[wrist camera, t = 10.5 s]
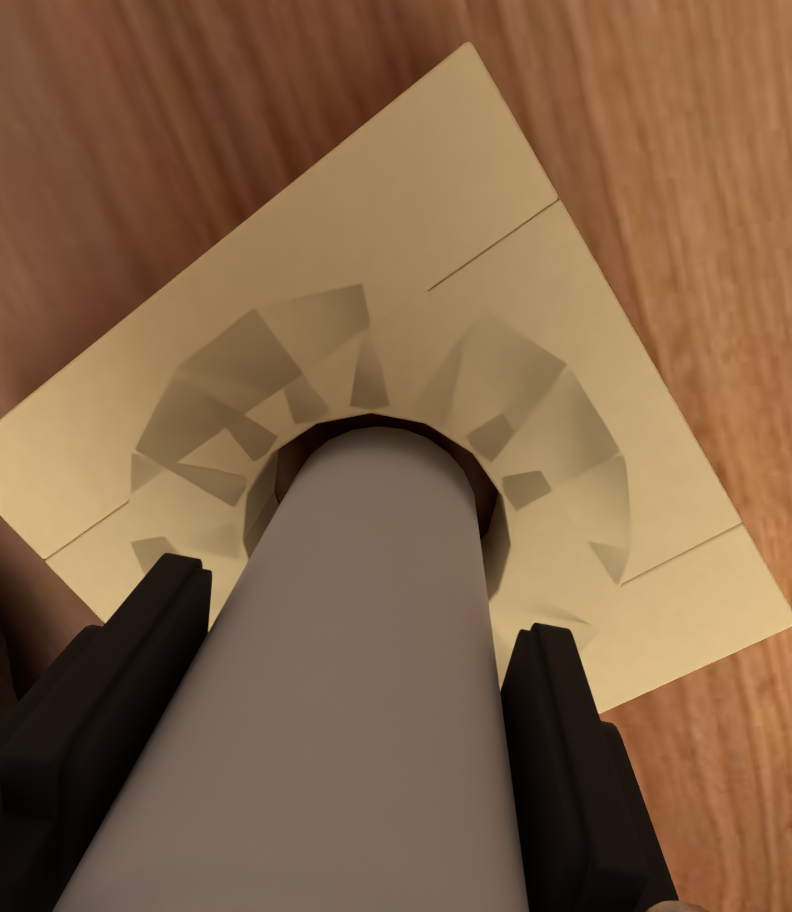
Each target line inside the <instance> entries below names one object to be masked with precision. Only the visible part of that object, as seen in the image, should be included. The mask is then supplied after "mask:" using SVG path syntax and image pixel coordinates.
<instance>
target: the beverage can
mask: <svg viewBox="0 0 792 912" xmlns="http://www.w3.org/2000/svg"><path fill="white" fill-rule="evenodd" d="M52 912H529V907H528V899H527V891H526V884H525V876H524V869H523V861H522V854H521V846H520V838H519V831H518V823H517V816H516V808H515V800H514V793H513V785H512V778H511V770H510V762H509V755H508V747H507V740H506V732H505V724H504V717H503V709H502V702H501V694H500V686H499V679H498V671H497V664H496V656H495V648H494V641H493V633H492V626H491V618H490V611H489V603H488V595H487V588H486V580H485V573H484V565H483V557H482V550H481V542H480V535H479V527H478V519H477V512H476V505H475V497H474V492H473V490H472V488H471V485H470V483H469V481H468V479H467V477H466V474H465V472H464V471H463V470H462V468H461V467H460V466H459V465H458V464H457V462H456V461H455V460H454V459H453V458H452V456H451V455H450V454H449V453H448V452H447V451H445V450H444V449H442V448H441V447H439V446H438V445H437V444H435V443H434V442H432V441H431V440H429V439H428V438H426V437H423V436H421V435H418V434H415V433H413V432H410V431H407V430H405V429H398V428H389V427H379V426H377V427H370V428H363V429H356V430H351V431H349V432H346V433H344V434H342V435H339V436H337V437H335V438H332V439H330V440H328V441H327V442H326V443H325V444H323V445H322V446H321V447H320V448H318V449H317V450H316V451H315V452H313V453H312V454H311V455H310V456H309V458H308V459H307V460H306V462H305V463H304V465H303V466H302V468H301V469H300V470H299V472H298V473H297V475H296V477H295V478H294V480H293V482H292V484H291V486H290V487H289V489H288V491H287V493H286V495H285V496H284V498H283V500H282V502H281V504H280V505H279V507H278V509H277V511H276V512H275V514H274V516H273V518H272V520H271V521H270V523H269V525H268V527H267V529H266V530H265V532H264V534H263V536H262V537H261V539H260V541H259V543H258V545H257V546H256V548H255V550H254V552H253V554H252V555H251V557H250V559H249V561H248V562H247V564H246V566H245V568H244V570H243V571H242V573H241V575H240V577H239V579H238V580H237V582H236V584H235V586H234V587H233V589H232V591H231V593H230V595H229V596H228V598H227V600H226V602H225V604H224V605H223V607H222V609H221V611H220V613H219V614H218V616H217V618H216V620H215V621H214V623H213V625H212V627H211V629H210V630H209V632H208V634H207V636H206V638H205V639H204V641H203V643H202V645H201V646H200V648H199V650H198V652H197V654H196V655H195V657H194V659H193V661H192V663H191V664H190V666H189V668H188V670H187V671H186V673H185V675H184V677H183V679H182V680H181V682H180V684H179V686H178V688H177V689H176V691H175V693H174V695H173V696H172V698H171V700H170V702H169V704H168V705H167V707H166V709H165V711H164V713H163V714H162V716H161V718H160V720H159V722H158V723H157V725H156V727H155V729H154V730H153V732H152V734H151V736H150V738H149V739H148V741H147V743H146V745H145V747H144V748H143V750H142V752H141V754H140V755H139V757H138V759H137V761H136V763H135V764H134V766H133V768H132V770H131V772H130V773H129V775H128V777H127V779H126V780H125V782H124V784H123V786H122V788H121V789H120V791H119V793H118V795H117V797H116V798H115V800H114V802H113V804H112V805H111V807H110V809H109V811H108V813H107V814H106V816H105V818H104V820H103V822H102V823H101V825H100V827H99V829H98V830H97V832H96V834H95V836H94V838H93V839H92V841H91V843H90V845H89V847H88V848H87V850H86V852H85V854H84V856H83V857H82V859H81V861H80V863H79V864H78V866H77V868H76V870H75V872H74V873H73V875H72V877H71V879H70V881H69V882H68V884H67V886H66V888H65V889H64V891H63V893H62V895H61V897H60V898H59V900H58V902H57V904H56V906H55V907H54V909H53V911H52Z"/></svg>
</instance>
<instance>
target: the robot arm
mask: <svg viewBox="0 0 792 912" xmlns="http://www.w3.org/2000/svg"><path fill="white" fill-rule="evenodd" d="M211 589H212V571H211V570H207V569H203V565H202V561H201V559H198V558H193V557H188V556H182V555H177V554H172V553H164V554H163V555H162V556H161V557H160V558H159V560H158V561H157V562H156V563H155V564H154V566H153V567H152V568H151V569H150V570H149V572H148V573H147V574H146V575H145V576H144V578H143V579H142V580H141V581H140V582H139V584H138V585H137V586H136V587H135V589H134V590H133V591H132V592H131V593H130V595H129V596H128V597H127V598H126V599H125V601H124V602H123V603H122V604H121V605H120V607H119V608H118V609H117V610H116V611H115V613H114V614H113V615H112V616H111V617H110V619H109V620H108V621H107V622H106V624H105V625H104V626H103V627H101V626H95V625H90V626H87V627H85V628H84V629H83V630H82V631H81V632H80V633H79V634H78V635H77V636H76V637H75V638H74V639H73V640H72V641H71V643H70V644H69V645H68V646H67V647H66V648H65V649H64V651H63V652H62V653H61V654H60V655H59V656H58V657H57V659H56V660H55V661H54V662H53V663H52V664H51V665H50V667H49V668H48V669H47V670H46V671H45V672H44V673H43V675H42V676H41V677H40V678H39V679H38V680H37V681H36V683H35V684H34V685H33V686H32V687H31V688H30V689H29V691H28V692H27V693H26V694H25V695H24V696H23V697H22V699H21V700H20V701H19V702H18V703H17V704H16V705H15V707H14V708H13V709H12V710H11V711H10V712H9V713H8V715H7V716H6V717H5V718H4V719H3V720H2V722H1V723H0V912H52V911H53V909H54V907H55V906H56V904H57V902H58V900H59V898H60V897H61V895H62V893H63V891H64V889H65V888H66V886H67V884H68V882H69V881H70V879H71V877H72V875H73V873H74V872H75V870H76V868H77V866H78V864H79V863H80V861H81V859H82V857H83V856H84V854H85V852H86V850H87V848H88V847H89V845H90V843H91V841H92V839H93V838H94V836H95V834H96V832H97V830H98V829H99V827H100V825H101V823H102V822H103V820H104V818H105V816H106V814H107V813H108V811H109V809H110V807H111V805H112V804H113V802H114V800H115V798H116V797H117V795H118V793H119V791H120V789H121V788H122V786H123V784H124V782H125V780H126V779H127V777H128V775H129V773H130V772H131V770H132V768H133V766H134V764H135V763H136V761H137V759H138V757H139V755H140V754H141V752H142V750H143V748H144V747H145V745H146V743H147V741H148V739H149V738H150V736H151V734H152V732H153V730H154V729H155V727H156V725H157V723H158V722H159V720H160V718H161V716H162V714H163V713H164V711H165V709H166V707H167V705H168V704H169V702H170V700H171V698H172V696H173V695H174V693H175V691H176V689H177V688H178V686H179V684H180V682H181V680H182V679H183V677H184V675H185V673H186V671H187V670H188V668H189V666H190V664H191V663H192V661H193V659H194V657H195V655H196V654H197V652H198V650H199V648H200V646H201V645H202V643H203V641H204V639H205V638H206V636H207V634H208V627H209V614H210V602H211ZM500 694H501V702H502V709H503V717H504V724H505V732H506V740H507V747H508V755H509V762H510V770H511V778H512V785H513V793H514V800H515V808H516V816H517V823H518V831H519V838H520V846H521V854H522V861H523V869H524V876H525V884H526V891H527V899H528V907H529V912H709V911H707V910H706V909H704V908H702V907H700V906H697V905H693V904H690V903H687V902H683V901H679V899H678V896H677V893H676V890H675V887H674V885H673V882H672V879H671V876H670V873H669V870H668V868H667V865H666V862H665V859H664V856H663V853H662V851H661V848H660V845H659V842H658V839H657V837H656V834H655V831H654V828H653V825H652V822H651V820H650V817H649V814H648V811H647V808H646V805H645V803H644V800H643V797H642V794H641V791H640V788H639V786H638V783H637V780H636V777H635V774H634V772H633V769H632V766H631V763H630V760H629V757H628V755H627V752H626V749H625V746H624V743H623V740H622V738H621V735H620V733H619V731H618V729H617V727H616V726H615V725H613V724H612V723H609V722H604V721H601V720H600V717H599V714H598V711H597V708H596V705H595V702H594V699H593V696H592V693H591V689H590V686H589V683H588V680H587V677H586V674H585V671H584V668H583V665H582V662H581V659H580V655H579V652H578V649H577V646H576V643H575V640H574V637H573V634H572V632H571V630H570V629H568V628H563V627H558V626H552V625H547V624H542V623H534V624H533V625H532V627H531V629H530V630H525V629H521V630H520V631H519V633H518V635H517V638H516V641H515V645H514V648H513V651H512V655H511V658H510V661H509V664H508V668H507V671H506V674H505V678H504V681H503V684H502V687H501V691H500Z"/></svg>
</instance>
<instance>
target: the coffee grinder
mask: <svg viewBox="0 0 792 912" xmlns="http://www.w3.org/2000/svg"><path fill="white" fill-rule="evenodd" d="M17 703H18V699H17V696H16V693H15V691H14V688H13V682H12V675H11V669H10V663H9V657H8V652H7V646H6V641H5V637H4V634H3V631H2V628H1V623H0V723H1V722H2V720H3V719H4V718H5V717H6V716H7V715H8V713H9V712H10V711H11V710H12V709H13V708H14V707H15V705H16V704H17Z"/></svg>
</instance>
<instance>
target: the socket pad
mask: <svg viewBox="0 0 792 912" xmlns="http://www.w3.org/2000/svg"><path fill="white" fill-rule="evenodd" d="M557 198H558V196H557V193H556V191H555V189H554V187H553V186H552V184H551V182H550V180H549V178H548V177H547V175H546V173H545V171H544V170H543V168H542V166H541V164H540V163H539V161H538V159H537V157H536V155H535V154H534V152H533V150H532V148H531V147H530V145H529V143H528V141H527V140H526V138H525V136H524V134H523V132H522V131H521V129H520V127H519V125H518V124H517V122H516V120H515V118H514V117H513V115H512V113H511V111H510V109H509V108H508V106H507V104H506V102H505V101H504V99H503V97H502V95H501V94H500V92H499V90H498V88H497V86H496V85H495V83H494V81H493V79H492V78H491V76H490V74H489V72H488V71H487V69H486V67H485V65H484V63H483V62H482V60H481V58H480V56H479V55H478V53H477V51H476V49H475V48H474V46H473V44H472V43H470V42H466V43H464V44H463V45H461V46H460V47H459V48H458V49H456V50H455V51H454V52H453V53H452V54H450V55H449V56H448V57H447V58H445V59H444V60H443V61H442V62H440V63H439V64H438V65H437V66H435V67H434V68H433V69H432V70H431V71H429V72H428V73H427V74H426V75H424V76H423V77H422V78H421V79H419V80H418V81H417V82H416V83H414V84H413V85H412V86H411V87H410V88H408V89H407V90H406V91H405V92H403V93H402V94H401V95H400V96H398V97H397V98H396V99H395V100H393V101H392V102H391V103H390V104H389V105H387V106H386V107H385V108H384V109H382V110H381V111H380V112H379V113H377V114H376V115H375V116H374V117H372V118H371V119H370V120H369V121H368V122H366V123H365V124H364V125H363V126H361V127H360V128H359V129H358V130H356V131H355V132H354V133H353V134H351V135H350V136H349V137H348V138H347V139H345V140H344V141H343V142H342V143H340V144H339V145H338V146H337V147H335V148H334V149H333V150H332V151H330V152H329V153H328V154H327V155H326V156H324V157H323V158H322V159H321V160H319V161H318V162H317V163H316V164H314V165H313V166H312V167H311V168H309V169H308V170H307V171H306V172H305V173H303V174H302V175H301V176H300V177H298V178H297V179H296V180H295V181H293V182H292V183H291V184H290V185H288V186H287V187H286V188H285V189H284V190H282V191H281V192H280V193H279V194H277V195H276V196H275V197H274V198H272V199H271V200H270V201H269V202H267V203H266V204H265V205H264V206H263V207H261V208H260V209H259V210H258V211H256V212H255V213H254V214H253V215H251V216H250V217H249V218H248V219H247V220H245V221H244V222H243V223H242V224H240V225H239V226H238V227H237V228H235V229H234V230H233V231H232V232H230V233H229V234H228V235H227V236H226V237H224V238H223V239H222V240H221V241H219V242H218V243H217V244H216V245H214V246H213V247H212V248H211V249H209V250H208V251H207V252H206V253H205V254H203V255H202V256H201V257H200V258H198V259H197V260H196V261H195V262H193V263H192V264H191V265H190V266H188V267H187V268H186V269H185V270H184V271H182V272H181V273H180V274H179V275H177V276H176V277H175V278H174V279H172V280H171V281H170V282H169V283H167V284H166V285H165V286H164V287H163V288H161V289H160V290H159V291H158V292H156V293H155V294H154V295H153V296H151V297H150V298H149V299H148V300H146V301H145V302H144V303H143V304H142V305H140V306H139V307H138V308H137V309H135V310H134V311H133V312H132V313H130V314H129V315H128V316H127V317H125V318H124V319H123V320H122V321H121V322H119V323H118V324H117V325H116V326H114V327H113V328H112V329H111V330H109V331H108V332H107V333H106V334H104V335H103V336H102V337H101V338H100V339H98V340H97V341H96V342H95V343H93V344H92V345H91V346H90V347H88V348H87V349H86V350H85V351H83V352H82V353H81V354H80V355H79V356H77V357H76V358H75V359H74V360H72V361H71V362H70V363H69V364H67V365H66V366H65V367H64V368H62V369H61V370H60V371H59V372H58V373H56V374H55V375H54V376H53V377H51V378H50V379H49V380H48V381H46V382H45V383H44V384H43V385H42V386H40V387H39V388H38V389H37V390H35V391H34V392H33V393H32V394H30V395H29V396H28V397H27V398H25V399H24V400H23V401H22V402H21V403H19V404H18V405H17V406H16V407H14V408H13V409H12V410H11V411H9V412H8V413H7V414H6V415H4V416H3V417H2V418H1V419H0V516H1V517H2V518H3V519H4V520H5V521H6V522H7V523H8V524H9V525H10V526H11V527H12V528H13V529H14V530H15V531H16V532H17V533H18V534H19V535H20V536H21V537H22V538H23V539H24V540H25V541H26V542H27V543H28V544H29V546H30V547H31V548H32V549H33V550H34V551H35V552H36V553H37V554H38V555H39V556H40V557H41V558H43V559H46V558H47V559H46V561H45V562H46V563H47V565H48V566H49V567H50V568H51V569H52V570H53V571H54V572H55V573H56V574H57V575H58V576H59V577H60V578H61V579H62V580H63V581H64V582H65V583H66V584H67V585H68V586H69V587H70V588H71V589H72V590H73V591H74V592H75V593H76V594H77V595H78V596H79V597H80V598H81V599H82V600H83V601H84V602H85V603H86V604H87V605H88V607H89V608H90V609H91V610H92V611H93V612H94V613H95V614H96V615H97V616H98V617H99V618H100V619H101V620H102V621H103V622H104V623H105V624H106V622H107V621H108V620H109V619H110V617H111V616H112V615H113V614H114V613H115V611H116V610H117V609H118V608H119V607H120V605H121V604H122V603H123V602H124V601H125V599H126V598H127V597H128V596H129V595H130V593H131V592H132V591H133V590H134V589H135V587H136V586H137V585H138V584H139V582H140V581H141V580H142V579H143V578H144V576H145V575H146V574H147V573H148V572H149V570H150V569H151V568H152V567H153V566H154V564H155V563H156V562H157V561H158V560H159V558H160V557H161V556H162V555H163V554H164V553H172V554H177V555H182V556H188V557H193V558H198V559H201V561H202V565H203V569H207V570H211V571H212V589H211V602H210V614H209V627H208V632H209V630H210V629H211V627H212V625H213V623H214V621H215V620H216V618H217V616H218V614H219V613H220V611H221V609H222V607H223V605H224V604H225V602H226V600H227V598H228V596H229V595H230V593H231V591H232V589H233V587H234V586H235V584H236V582H237V580H238V579H239V577H240V575H241V573H242V571H243V570H244V568H245V566H246V564H247V562H248V561H249V559H250V557H251V555H252V554H253V552H254V550H255V548H256V546H257V545H258V543H259V541H260V539H261V537H262V536H263V534H264V532H265V530H266V529H267V527H268V525H269V523H270V521H271V520H272V518H273V516H274V514H275V512H276V511H277V509H278V507H279V503H278V500H277V497H276V494H275V491H274V488H275V480H276V471H277V462H278V454H279V449H280V448H281V447H282V446H284V445H285V444H287V443H288V442H290V441H291V440H293V439H294V438H296V437H297V436H299V435H300V434H302V433H303V432H305V431H306V430H308V429H309V428H311V427H312V426H314V425H315V424H317V423H322V422H327V421H332V420H337V419H343V418H348V417H353V416H358V415H363V414H368V413H373V414H378V415H383V416H389V417H394V418H399V419H404V420H410V421H415V422H420V423H426V424H427V425H429V426H430V427H432V428H433V429H435V430H437V431H438V432H440V433H441V434H443V435H444V436H446V437H448V438H449V439H451V440H452V441H454V442H455V443H457V444H459V445H460V446H462V447H463V448H465V449H466V450H468V451H470V452H471V453H473V455H474V456H475V458H476V459H477V461H478V462H479V463H480V465H481V466H482V468H483V469H484V471H485V472H486V474H487V475H488V476H489V478H490V479H491V481H492V482H493V484H494V485H495V487H496V488H497V490H498V495H497V499H496V503H495V507H494V511H493V514H492V518H491V522H490V526H489V530H488V532H487V533H486V534H485V535H484V537H483V538H482V539H481V540H480V542H481V550H482V557H483V565H484V573H485V580H486V588H487V595H488V603H489V611H490V618H491V626H492V633H493V641H494V648H495V656H496V664H497V671H498V679H499V686H500V691H501V687H502V684H503V681H504V678H505V674H506V671H507V668H508V664H509V661H510V658H511V655H512V651H513V648H514V645H515V641H516V638H517V635H518V633H519V631H520V630H521V629H525V630H530V629H531V627H532V625H533V624H534V623H542V624H547V625H552V626H558V627H563V628H568V629H570V630H571V632H572V634H573V637H574V640H575V643H576V646H577V649H578V652H579V655H580V659H581V662H582V665H583V668H584V671H585V674H586V677H587V680H588V683H589V686H590V689H591V693H592V696H593V699H594V702H595V705H596V708H597V711H598V714H600V713H603V712H605V711H607V710H609V709H611V708H613V707H616V706H618V705H620V704H622V703H624V702H627V701H629V700H631V699H633V698H635V697H638V696H640V695H642V694H644V693H646V692H649V691H651V690H653V689H655V688H657V687H660V686H662V685H664V684H666V683H668V682H671V681H673V680H675V679H677V678H679V677H682V676H684V675H686V674H688V673H690V672H693V671H695V670H697V669H699V668H701V667H704V666H706V665H708V664H710V663H712V662H715V661H717V660H719V659H721V658H723V657H726V656H728V655H730V654H732V653H734V652H737V651H739V650H741V649H743V648H745V647H748V646H750V645H752V644H754V643H756V642H759V641H761V640H763V639H765V638H767V637H769V636H772V635H774V634H776V633H778V632H780V631H783V630H785V629H787V628H789V627H791V626H792V608H791V606H790V605H789V603H788V601H787V599H786V597H785V596H784V594H783V592H782V590H781V589H780V587H779V585H778V583H777V582H776V580H775V578H774V576H773V575H772V573H771V571H770V569H769V567H768V566H767V564H766V562H765V560H764V559H763V557H762V555H761V553H760V552H759V550H758V548H757V546H756V544H755V543H754V541H753V539H752V537H751V536H750V534H749V532H748V530H747V529H746V527H745V525H744V524H743V523H742V520H741V518H740V516H739V514H738V512H737V510H736V509H735V507H734V505H733V503H732V502H731V500H730V498H729V496H728V495H727V493H726V491H725V489H724V487H723V486H722V484H721V482H720V480H719V479H718V477H717V475H716V473H715V472H714V470H713V468H712V466H711V464H710V463H709V461H708V459H707V457H706V456H705V454H704V452H703V450H702V449H701V447H700V445H699V443H698V441H697V440H696V438H695V436H694V434H693V433H692V431H691V429H690V427H689V426H688V424H687V422H686V420H685V418H684V417H683V415H682V413H681V411H680V410H679V408H678V406H677V404H676V403H675V401H674V399H673V397H672V395H671V394H670V392H669V390H668V388H667V387H666V385H665V383H664V381H663V380H662V378H661V376H660V374H659V372H658V371H657V369H656V367H655V365H654V364H653V362H652V360H651V358H650V357H649V355H648V353H647V351H646V349H645V348H644V346H643V344H642V342H641V341H640V339H639V337H638V335H637V334H636V332H635V330H634V328H633V326H632V325H631V323H630V321H629V319H628V318H627V316H626V314H625V312H624V311H623V309H622V307H621V305H620V303H619V302H618V300H617V298H616V296H615V295H614V293H613V291H612V289H611V288H610V286H609V284H608V282H607V280H606V279H605V277H604V275H603V273H602V272H601V270H600V268H599V266H598V265H597V263H596V261H595V259H594V257H593V256H592V254H591V252H590V250H589V249H588V247H587V245H586V243H585V242H584V240H583V238H582V236H581V234H580V233H579V231H578V229H577V227H576V226H575V224H574V222H573V220H572V219H571V217H570V215H569V213H568V211H567V210H566V208H565V206H564V204H563V203H562V201H560V200H557ZM556 200H557V201H556Z"/></svg>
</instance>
